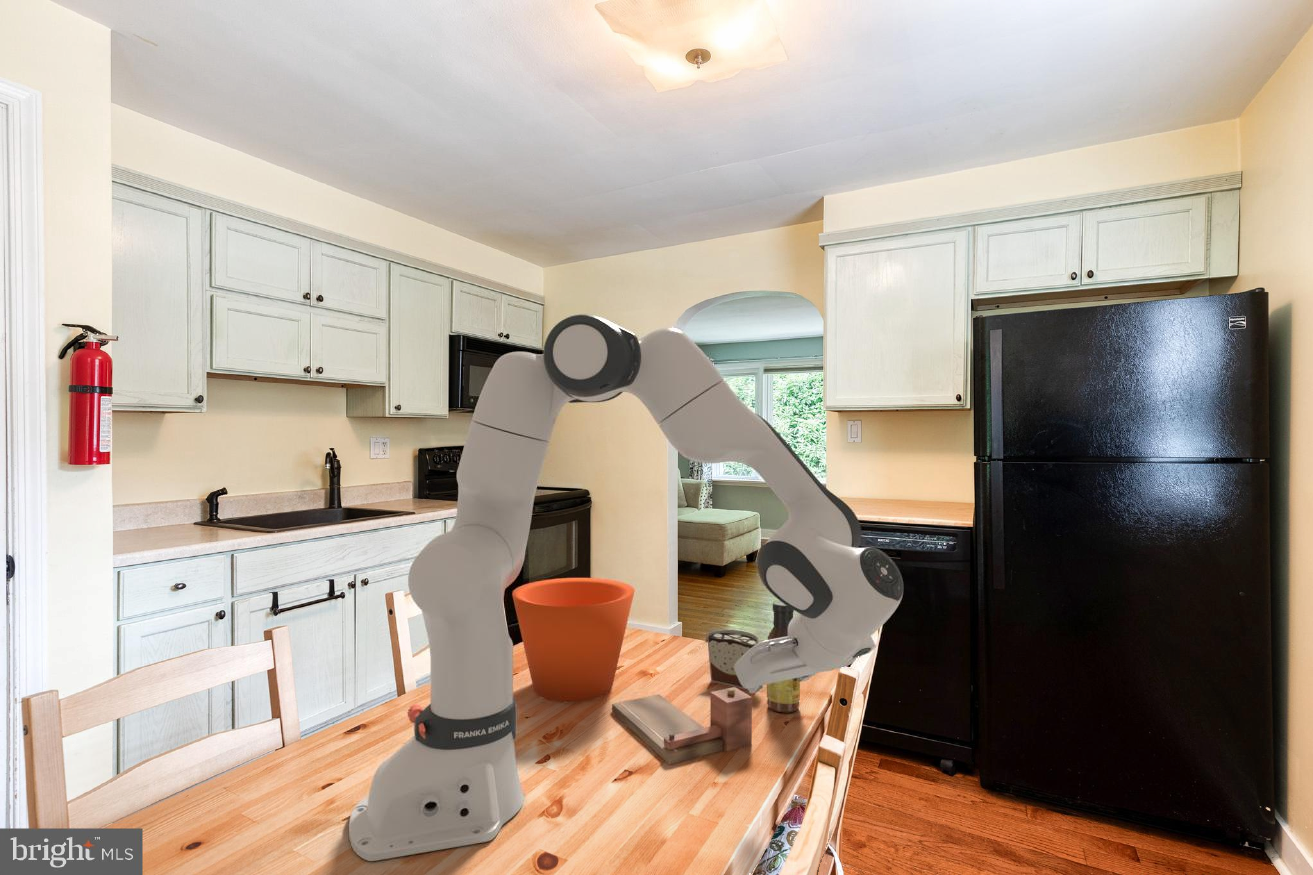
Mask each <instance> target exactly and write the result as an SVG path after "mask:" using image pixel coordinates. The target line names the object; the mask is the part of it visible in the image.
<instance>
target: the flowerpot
mask: <svg viewBox="0 0 1313 875" xmlns="http://www.w3.org/2000/svg"><path fill="white" fill-rule="evenodd" d="M634 594H635V588H634V587H633V586H632V585H631V584H628V583H626V582H622V581H618V580H612V579H606V578H599V577H598V578H595V577H566V578H565V577H563V578H562V577H561V578H552V579H542V580H538V581H532V582H529V583H525V584H522V585H521V586H518V587H516V588H515V589H514V590H512V593H511V595H512V599H513V603H514V608H515V612H516V613H515V614H516V618H517V621H518V626H519V630H520V635H521V638H522V642H523V647H524V652H525V657H526V661H527V666H528V671H529V675H530V679H531V683H532V688H533V689H532V690H533V692H534V693H535V695H537V696H538V697H539V696H540V698H541V697H542V698H541V699H543V698H544V700H546V699H547V701H551V702H555V701H556V702H555V703H568V704H569V703H581V702H582V701H583V702H589V701H593V700H595V699H598V697H599V698H601V696H602V697H604V696H606V695H607V694H609V693H610V691H611V690H612V688H613V685H614V680H615V677H616V673H617V668H618V663H619V659H620V654H621V650H622V647H623V643H624V638H625V634H626V629H627V625H628V621H629V617H630V611H631V608H632V603H633V598H634ZM605 694H606V695H605ZM603 695H604V696H603Z"/></svg>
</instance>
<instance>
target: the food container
mask: <svg viewBox="0 0 1313 875" xmlns="http://www.w3.org/2000/svg"><path fill="white" fill-rule="evenodd" d="M760 642H761V641H760V640H759V637H758V636H757V635H755V634H754V633H751V632H748V631H744V630H739V629H738V630H736V629H718V630H711V631H710V632H707V634H706V636H705V642H704V643H707V648H708V649H707V650H708V658H709V659H708V660H709V672H710V682H713V683H718V684H721V685H727V686H729V687H730V686H731V687H736V688H737V689H743V690H747V691H749V690H748V689H745V688H744V687H743V686H742V685H741V683H740V681H739V679H738V677H737V675H736V672H735V668H734V665H735V663H736V662H737V661H738V660H739V659H740V658H741V657H742V656H743V655H744V654H745V653H746V652H747V651H748V650H749V649H751V648H752V647H753V646H755V645H756V644H758V643H760Z"/></svg>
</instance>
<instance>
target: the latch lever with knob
mask: <svg viewBox="0 0 1313 875" xmlns="http://www.w3.org/2000/svg"><path fill="white" fill-rule="evenodd" d="M709 711H710V715H709V716H710V719H709V720H710V721H709V722H710V725H709V726H706V727H704V728H701V729H697V730H693V731H689V732H685V733H681V734H677V735H674V734H673V733H671V734H669V737H665V738H664V746H665V747H666V748H668V749H669V750H671V749H675V748H679V747H682V746H686V745H690V744H694V743H698V742H702V741H706V740H710V739H714V738H719V739H720V740H722V741H723V750H724V751H725V752H730V751H734V750H737V749H741V748H745V747H748V746H752V743H753V741H752V737H753V736H752V735H753V733H752V732H753V730H752V729H753V726H752V725H753V723H752V722H753V720H752V719H753V718H752V717H753V697H752V696H751V695H749V694H747V693H746V692H744V691H742V690H740V688H738V687H734V686H731V687H728V688H727V687H726V688H724V689H719V690H715V691H714V690H713V691H710V710H709Z"/></svg>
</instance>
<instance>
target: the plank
mask: <svg viewBox="0 0 1313 875" xmlns="http://www.w3.org/2000/svg"><path fill="white" fill-rule="evenodd" d="M611 712H612V713H613V715H615V716H616V717H617V718H618V719H619V720H620V721H622V722H623V723H624V724H625V725H626V726H627V727H628V728H629V729H630V730H631V731H632V732H633V733H635V735H637V736H638V737H639V738H640V739H641V741H643V742H645V743H646V744H647V745H648V746H649V747H650V748H651V749H652V750H653V751H654V752H655V753H656V754H657V755H659V757H661V758H662V759H663V760H664V761H665V762H666V763H667V764H669V765H673V764H677V763H681V762H685V761H690V760H692V759H696V758H700V757H703V756H706V755H707V756H708V755H710V754H711V755H712V754H714V753H718V752H723V750H724V749H723V741H722V740H720V739H719V738H714V739H710V740H706V741H702V742H698V743H694V744H690V745H686V746H682V747H679V748H675V749H671V750H669V749H668V748H666V747H665V746H664V738H665V737H669V734H671V733H673V734H674V735H677V734H681V733H685V732H689V731H693V730H697V729H701V728H705V727H704V726H703V725H701V724H700V723H698V722H697V720H695V719H693V718H692V717H690V716H689V715H688V714H686V713H685V712H684V711H682V710H681V709H680V708H678V707H677V706H676V705H674V703H672V702H671V701H669V700H667V699H666V698H665V697H664V696H662V695H661V694H655V695H649V696H645V697H644V696H643V697H639V698H635V699H630V700H625V701H620V702H619V701H618V702H615V703H612V704H611Z"/></svg>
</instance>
